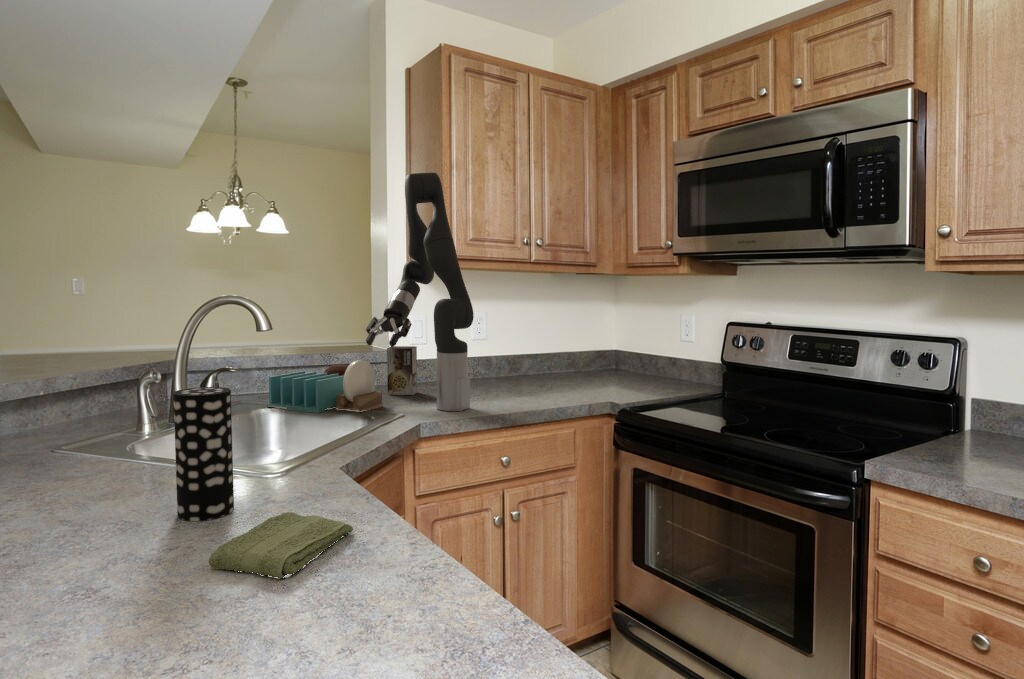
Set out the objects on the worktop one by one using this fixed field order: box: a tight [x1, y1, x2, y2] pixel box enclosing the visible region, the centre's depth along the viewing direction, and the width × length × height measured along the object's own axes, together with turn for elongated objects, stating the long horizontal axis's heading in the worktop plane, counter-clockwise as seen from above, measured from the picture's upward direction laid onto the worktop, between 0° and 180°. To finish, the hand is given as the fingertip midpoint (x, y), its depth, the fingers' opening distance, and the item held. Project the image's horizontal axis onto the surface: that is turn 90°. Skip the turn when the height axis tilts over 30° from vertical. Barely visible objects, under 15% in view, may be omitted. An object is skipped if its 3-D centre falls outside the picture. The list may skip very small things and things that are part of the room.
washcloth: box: [207, 511, 354, 578], centre depth 90 cm, size 13×18×3 cm
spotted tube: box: [172, 386, 235, 522], centre depth 104 cm, size 8×8×20 cm
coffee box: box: [386, 345, 418, 396], centre depth 219 cm, size 9×6×16 cm
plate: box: [343, 359, 376, 403], centre depth 192 cm, size 2×13×13 cm, turn 157°
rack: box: [266, 370, 344, 414], centre depth 196 cm, size 19×16×9 cm
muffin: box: [323, 364, 349, 376], centre depth 216 cm, size 12×11×10 cm
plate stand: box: [335, 390, 384, 411], centre depth 193 cm, size 9×11×4 cm
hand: (379, 344), depth 201 cm, fingers open, 8 cm apart
